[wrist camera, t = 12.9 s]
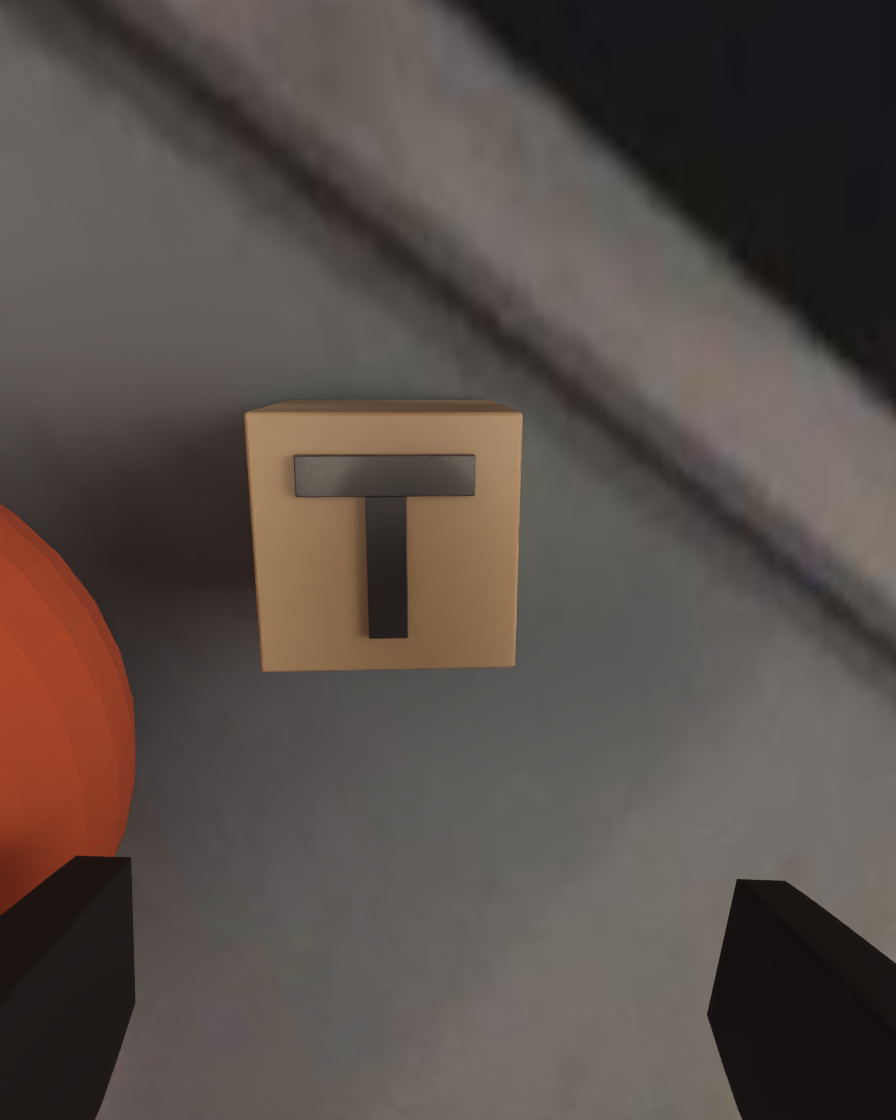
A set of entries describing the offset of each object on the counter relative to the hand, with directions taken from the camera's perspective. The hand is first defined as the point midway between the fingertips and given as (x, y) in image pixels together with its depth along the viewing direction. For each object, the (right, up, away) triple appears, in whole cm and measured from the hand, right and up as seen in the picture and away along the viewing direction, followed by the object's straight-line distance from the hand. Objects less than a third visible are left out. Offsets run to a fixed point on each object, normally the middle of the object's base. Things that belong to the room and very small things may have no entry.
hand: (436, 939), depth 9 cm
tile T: (-1, +6, +6) cm, 8 cm away
